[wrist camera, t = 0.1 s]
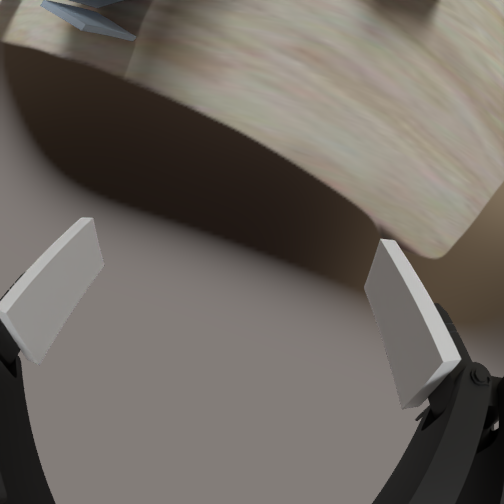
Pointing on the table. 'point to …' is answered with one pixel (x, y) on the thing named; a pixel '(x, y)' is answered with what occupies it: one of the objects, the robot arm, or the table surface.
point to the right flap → (87, 20)
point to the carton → (96, 2)
